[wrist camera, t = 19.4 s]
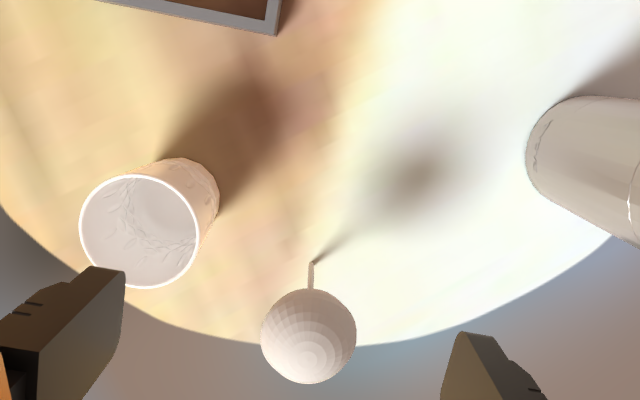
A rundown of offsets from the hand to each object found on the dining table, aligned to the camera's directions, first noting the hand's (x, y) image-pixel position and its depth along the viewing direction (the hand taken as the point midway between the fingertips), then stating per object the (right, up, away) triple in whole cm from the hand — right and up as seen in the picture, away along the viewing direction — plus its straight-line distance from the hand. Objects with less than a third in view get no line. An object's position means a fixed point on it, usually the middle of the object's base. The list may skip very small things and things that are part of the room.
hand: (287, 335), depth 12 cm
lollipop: (0, -2, +32) cm, 32 cm away
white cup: (-11, +4, +30) cm, 32 cm away
